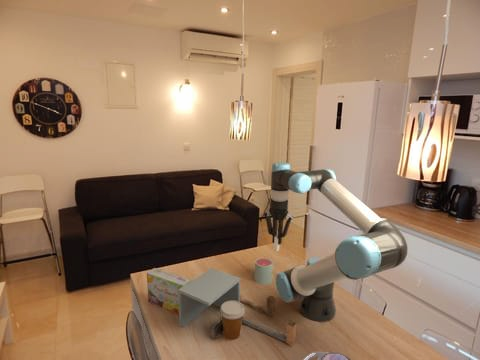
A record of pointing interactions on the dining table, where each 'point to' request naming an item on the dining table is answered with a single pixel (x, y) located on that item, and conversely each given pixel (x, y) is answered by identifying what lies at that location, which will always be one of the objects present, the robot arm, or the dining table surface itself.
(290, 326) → the wood-tipped metal rod
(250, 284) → the dining table surface
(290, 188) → the robot arm
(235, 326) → the disposable coffee cup
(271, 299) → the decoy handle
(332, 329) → the dining table surface
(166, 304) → the snack box
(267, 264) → the mug
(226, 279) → the shelf cubby
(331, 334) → the dining table surface
